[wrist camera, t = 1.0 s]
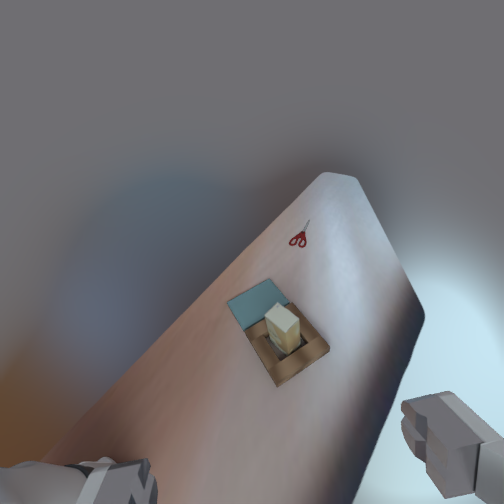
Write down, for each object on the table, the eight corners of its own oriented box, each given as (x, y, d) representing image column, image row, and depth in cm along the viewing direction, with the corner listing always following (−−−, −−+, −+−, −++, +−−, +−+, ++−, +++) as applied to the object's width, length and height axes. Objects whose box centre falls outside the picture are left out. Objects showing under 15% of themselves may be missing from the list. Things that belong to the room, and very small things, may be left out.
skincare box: (269, 341, 61) (262, 313, 53) (282, 328, 63) (276, 300, 55) (290, 359, 57) (285, 333, 49) (302, 345, 59) (300, 318, 51)
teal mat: (243, 331, 64) (243, 329, 64) (227, 304, 71) (226, 302, 71) (289, 303, 68) (289, 302, 67) (269, 280, 74) (269, 278, 74)
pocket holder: (277, 387, 54) (275, 383, 52) (246, 336, 63) (244, 331, 62) (329, 351, 57) (329, 346, 55) (292, 307, 67) (292, 302, 65)
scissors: (288, 245, 84) (288, 243, 83) (302, 220, 92) (302, 218, 91) (304, 249, 82) (304, 246, 81) (316, 222, 90) (316, 220, 89)
